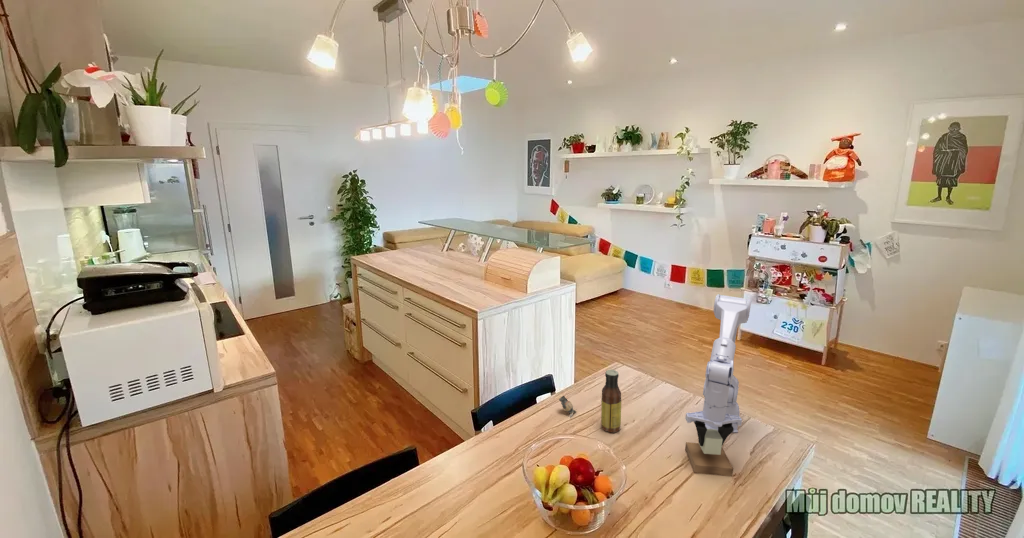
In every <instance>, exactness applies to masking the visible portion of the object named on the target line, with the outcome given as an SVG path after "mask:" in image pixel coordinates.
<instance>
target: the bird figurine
mask: <svg viewBox="0 0 1024 538" xmlns="http://www.w3.org/2000/svg"><path fill="white" fill-rule="evenodd" d="M558 401H559V402H560V404H561V405H562V408H563V411H565V412H567V413H568V414H569V415H568V418H569V419H572V418H573V415H574V413H575V414H576V412H577V411H576V409H574V406H573V403H572V402H571V401H570V400H568V399H567V398H566V396H565V395H563V396H561V397H560V398H559V399H558Z"/></svg>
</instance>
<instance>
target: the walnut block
mask: <svg viewBox="0 0 1024 538" xmlns="http://www.w3.org/2000/svg"><path fill="white" fill-rule="evenodd" d="M684 450H685V451H684V452H685V453H686V456H687V458H688V461H689V462H690V466H691V468H692V471H693V473H694V474H701V475H711V476H712V475H713V476H725V477H733V472H734V468H733V465H732V463H731V462H730V460H729V458H728V456H727V454H726V452H725V450H724V448H723V447H722V448H721V455H717V454H704V453H703V451H702V449H701V447H700V445H699V442H687V441H685V449H684Z"/></svg>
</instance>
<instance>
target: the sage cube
mask: <svg viewBox="0 0 1024 538" xmlns="http://www.w3.org/2000/svg"><path fill="white" fill-rule="evenodd" d="M722 441H723V439H722V437H721V436H720V434H719V432H718V431H717V429H707V431H706V434H705V438H704V445H703V446H700V447H701V449H702V451H703V453H704V454H717V455H721V448H723V445H722ZM699 445H700V444H699Z"/></svg>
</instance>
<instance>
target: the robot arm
mask: <svg viewBox="0 0 1024 538" xmlns="http://www.w3.org/2000/svg"><path fill="white" fill-rule="evenodd" d="M751 305H752V300H751V298H749V297H748V298H746V297H745V298H744V297H738V296H731V295H724V294H720V293H718V294H716V296H715V298H714V304H713V314H714V317H715V318H716V319H717V320H720V324H719V325H720V327H719V328H720V330H719V337H718V338H716V339H715V340H714V341H713V344H712V349H711V353H710V357H709V361H707V363H706V368H705V379H704V383H703V391H702V395H703V397H704V400H703V409H702V410H700V411H693V412H686V413H685V416H684V417H685V421H686V423H687V424H691V423H692V422H693V423H694V425H695V428H696V432H697V440H698V442H697V443H699V444H700V446H703V445H704V438H705V434H706V431H707V429H717V431H718V432H719V434H720V436H721V437H722V439H723V441H722V446H724V443H725V441H727V440H726V439H727V438H728V437H729V436H730V435H731V434H732V433H739V430H738V428H739V426H742V423H743V418H742V417H741V416H740V411H741V410H740V405H739V403H738V395H739V388H740V386H739V385H740V382H739V379H738V378H737V377H736V376H735V375H734V371H735V369H734V368H735V367H734V359H735V356H736V355H735V353H736V348H737V347H736V346H737V345H736V339H737V338H736V337H737V332H738V328H739V326H740V325H741V324H746V323H748V321H749V318H750V312H751Z"/></svg>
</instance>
